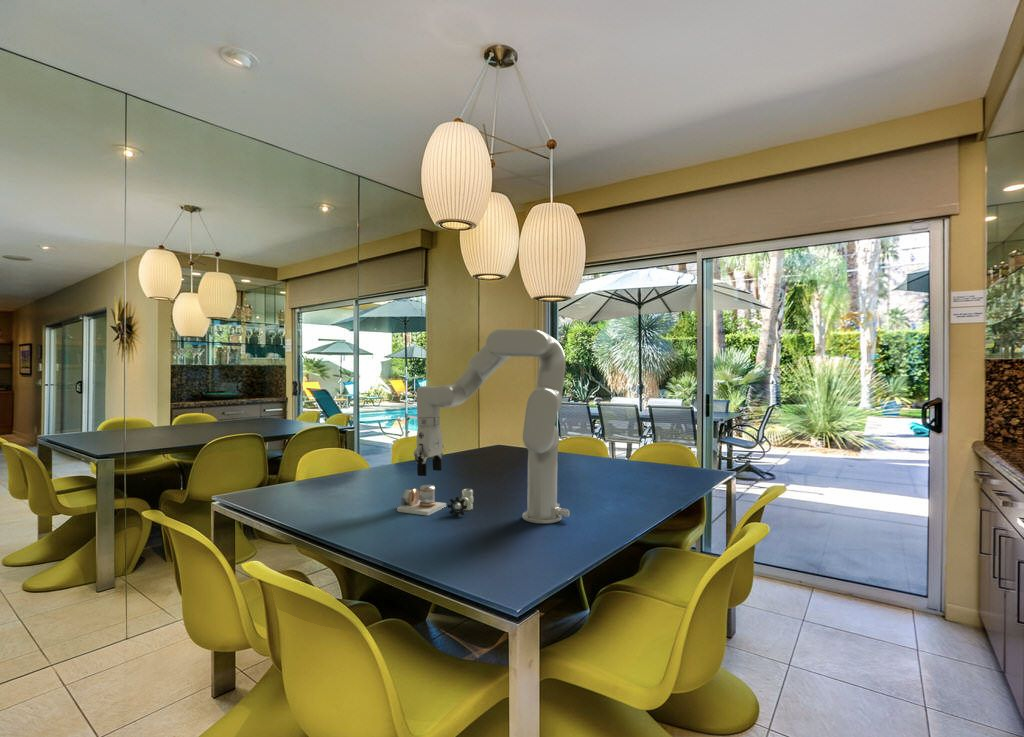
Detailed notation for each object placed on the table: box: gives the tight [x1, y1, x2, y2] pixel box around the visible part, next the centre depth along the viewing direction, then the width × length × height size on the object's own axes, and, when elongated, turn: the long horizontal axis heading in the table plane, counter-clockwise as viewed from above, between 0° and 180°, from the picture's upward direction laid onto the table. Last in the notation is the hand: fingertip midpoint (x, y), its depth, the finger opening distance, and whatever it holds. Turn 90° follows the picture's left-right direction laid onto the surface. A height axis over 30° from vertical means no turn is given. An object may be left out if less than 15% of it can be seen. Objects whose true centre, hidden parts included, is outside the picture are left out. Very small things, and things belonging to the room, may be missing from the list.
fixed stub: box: [400, 488, 420, 506], centre depth 172 cm, size 4×6×7 cm, turn 158°
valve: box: [447, 488, 475, 518], centre depth 168 cm, size 7×7×12 cm
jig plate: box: [396, 499, 447, 517], centre depth 170 cm, size 12×12×1 cm
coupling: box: [419, 484, 436, 507], centre depth 170 cm, size 5×5×6 cm
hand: (429, 472), depth 170 cm, fingers open, 9 cm apart
